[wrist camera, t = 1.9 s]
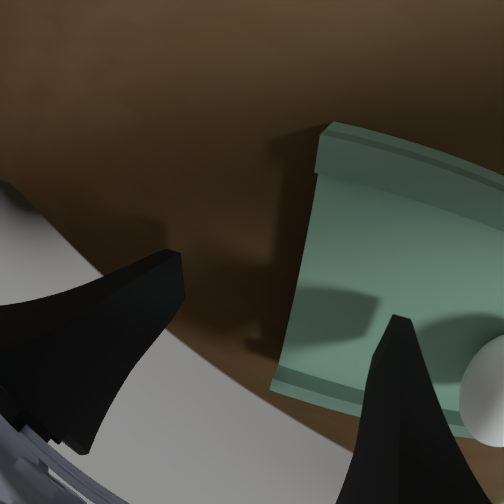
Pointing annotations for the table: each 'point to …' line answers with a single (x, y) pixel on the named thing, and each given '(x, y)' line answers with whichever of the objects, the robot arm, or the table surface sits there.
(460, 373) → the green tray
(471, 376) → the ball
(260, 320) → the table surface
